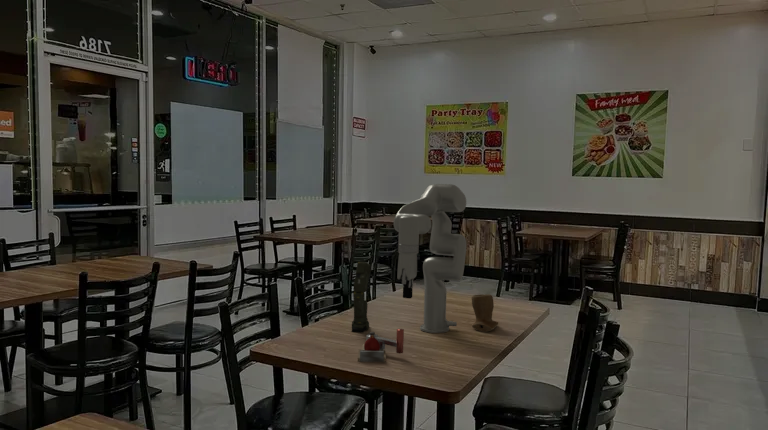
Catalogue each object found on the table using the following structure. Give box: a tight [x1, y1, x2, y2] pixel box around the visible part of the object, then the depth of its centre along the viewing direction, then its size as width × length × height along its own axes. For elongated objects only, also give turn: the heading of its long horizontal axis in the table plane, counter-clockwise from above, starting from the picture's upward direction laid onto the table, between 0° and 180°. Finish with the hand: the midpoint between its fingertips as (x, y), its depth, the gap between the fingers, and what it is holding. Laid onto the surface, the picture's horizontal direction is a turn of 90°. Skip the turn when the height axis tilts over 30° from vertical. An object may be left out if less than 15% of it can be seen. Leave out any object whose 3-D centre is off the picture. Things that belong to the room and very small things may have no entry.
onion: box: [363, 335, 380, 351], centre depth 208 cm, size 6×6×8 cm
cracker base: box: [357, 331, 387, 363], centre depth 211 cm, size 10×17×7 cm, turn 1°
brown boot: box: [471, 293, 499, 332], centre depth 251 cm, size 15×12×15 cm
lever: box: [365, 328, 405, 354], centre depth 212 cm, size 16×4×8 cm, turn 52°
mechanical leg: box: [351, 261, 372, 334], centre depth 246 cm, size 14×7×30 cm, turn 169°
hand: (407, 297), depth 213 cm, fingers closed
